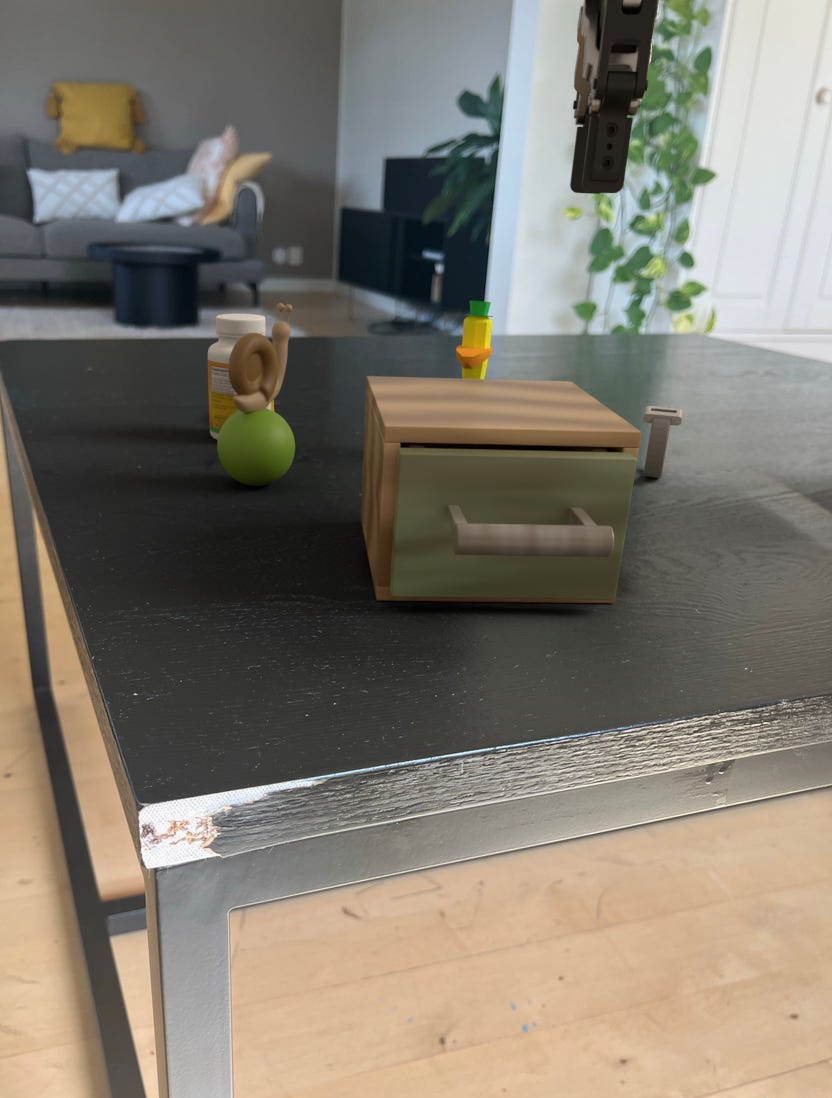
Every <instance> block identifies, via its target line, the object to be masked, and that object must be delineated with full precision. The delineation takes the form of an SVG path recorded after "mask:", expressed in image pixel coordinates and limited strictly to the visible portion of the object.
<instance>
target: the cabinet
mask: <svg viewBox="0 0 832 1098" xmlns="http://www.w3.org/2000/svg"><path fill="white" fill-rule="evenodd" d="M365 380H366V381H365V404H364V405H365V406H364V429H363V430H364V431H363V455H362V457H363V458H362V480H361V481H362V482H361V504H360V505H361V507H360V508H361V510H360V521H361V526H362V533H363V537H364V543H365V547H366V552H367V558H368V563H369V568H370V573H371V578H372V583H373V588H374V595H375V599H376V601H391V602H392V601H393V602H394V601H397V602H398V601H400V602H471V603H472V602H475V603H476V602H478V603H479V602H480V603H481V602H483V603H485V602H487V603H557V604H558V603H561V604H566V603H567V604H576V603H577V604H614V603H615V600H616V598H615V599H614V600H598V599H518V598H437V597H392V595H391V591H390V576H391V557H392V539H393V520H394V502H395V484H396V465H397V449H398V448H400V443H444V444H489V445H535V446H580V447H604V448H605V449H607V452H619V453H630V454H632V455H633V456H634V457H635V458H637V459H638V456H639V450H640V449H639V448H640V444H641V437H642V431H641V430H639V429H638V428H637V427H636V426H633V425H632V424H631V423H630V422H628V421H627V420H626V419H624V418H623V417H621V416H619V415H618V414H617V413H616V412H614V411H613V410H611V409H610V408H609V407H607V406H606V405H604V404H603V403H602V402H600V401H599V400H597V399H596V398H595V397H593V396H592V395H591V394H589V393H587V392H586V391H585V390H583V389H582V388H580V387H579V386H578V385H577V384H575V383H574V382H572V381H570V380H568V381H566V380H559V381H558V380H533V379H532V380H527V379H525V380H524V379H496V378H495V379H494V378H493V379H491V378H488V379H487V378H484V379H462V378H456V377H455V378H451V377H417V376H416V377H413V376H379V375H378V376H377V375H367V376H366V379H365Z"/></svg>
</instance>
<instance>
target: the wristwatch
mask: <svg viewBox="0 0 832 1098" xmlns="http://www.w3.org/2000/svg"><path fill="white" fill-rule="evenodd" d="M642 421H643V422H644V423H646V424H650V425H651V426H650V432H649V437H648V438H649V439H648V444H647V449H646V456H645V461H644V469H643V476H644V477H647V478H648V477H649V478H656V479H657V478H658V479H660V478H662V475H663V471H664V465H665V459H666V454H667V453H666V452H667V447H668V440H669V435H670V429H671V426H674V427H675V426H677V427H678V426H680V425H681V424H682V421H683V410H682V409H681V408H676V407H664V406H656V405H655V406H654V405H647V406H646V407H645V409H644V412H643V416H642Z"/></svg>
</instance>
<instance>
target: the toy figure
mask: <svg viewBox="0 0 832 1098" xmlns="http://www.w3.org/2000/svg"><path fill="white" fill-rule="evenodd" d="M490 306H491V301H484V300H483V301H481V300H469V311H470V312H469V313H465V314H464V316H467V317H465V318H464V319H463V328H462V342H461V345H459V344H458V346H456V347H455V348H456V349H455V355H456V359H457V360H458V362H459V364H460V365H461V376H462V378H461V379H486V378H485V377H486V371H487V369H488V363H489V359H490V357H491V356H492V352H493V349H494V348H493V347H491V341H492V329H493V321H492V320H491V319H490V318H493V317H494V316H493V315H488V314H489V311H490V308H491V307H490Z"/></svg>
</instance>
